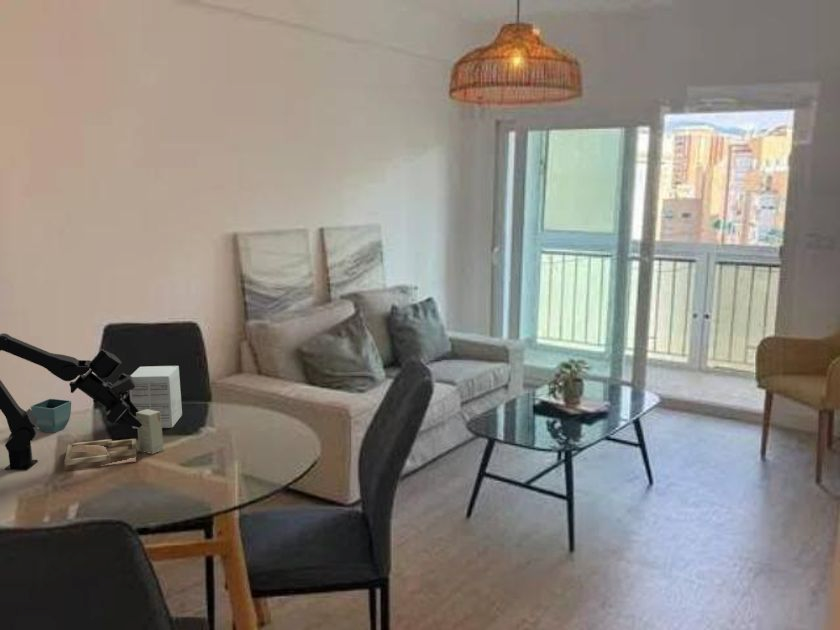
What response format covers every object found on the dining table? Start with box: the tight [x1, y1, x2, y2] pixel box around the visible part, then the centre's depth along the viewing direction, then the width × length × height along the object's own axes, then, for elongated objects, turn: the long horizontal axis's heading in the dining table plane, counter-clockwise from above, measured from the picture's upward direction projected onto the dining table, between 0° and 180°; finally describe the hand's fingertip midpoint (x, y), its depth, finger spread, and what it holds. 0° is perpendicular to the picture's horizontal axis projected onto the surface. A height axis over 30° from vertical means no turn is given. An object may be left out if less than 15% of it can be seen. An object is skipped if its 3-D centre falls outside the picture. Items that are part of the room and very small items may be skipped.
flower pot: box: [30, 398, 72, 434], centre depth 252 cm, size 9×9×9 cm
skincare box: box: [136, 409, 165, 453], centre depth 233 cm, size 6×4×12 cm
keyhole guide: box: [63, 438, 138, 472], centre depth 230 cm, size 19×16×3 cm
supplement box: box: [129, 365, 183, 429], centre depth 259 cm, size 13×13×18 cm
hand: (141, 421), depth 232 cm, fingers open, 9 cm apart
